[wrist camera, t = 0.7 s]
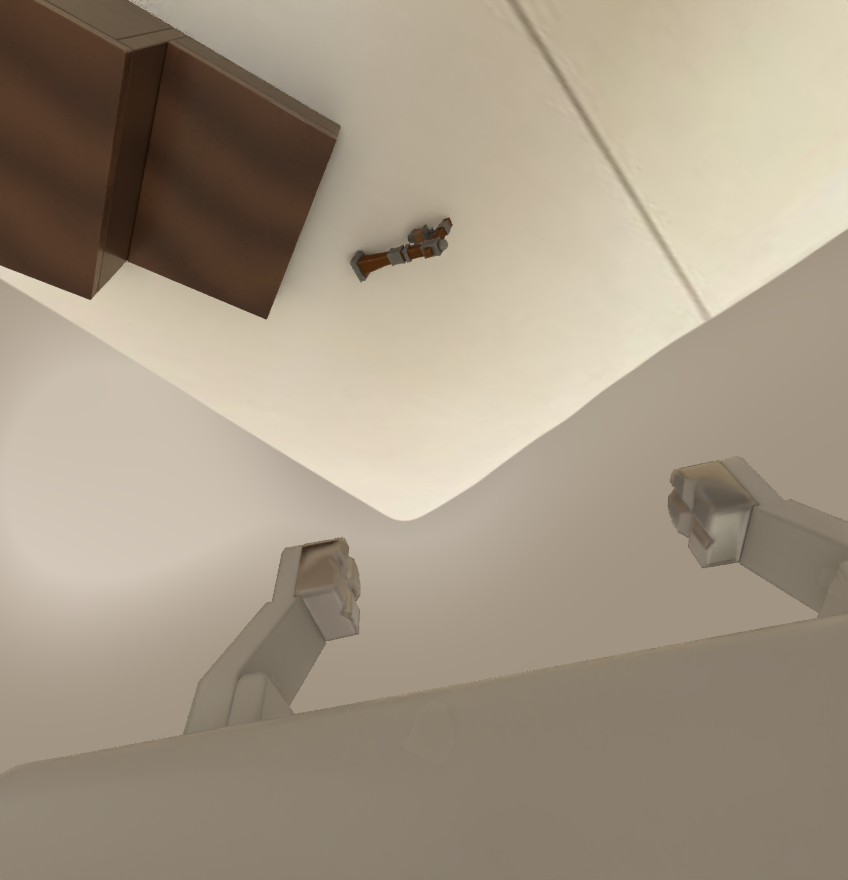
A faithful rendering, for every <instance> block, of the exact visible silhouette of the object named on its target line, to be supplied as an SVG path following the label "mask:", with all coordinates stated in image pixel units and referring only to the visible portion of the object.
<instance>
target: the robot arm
mask: <svg viewBox="0 0 848 880" xmlns="http://www.w3.org/2000/svg"><path fill="white" fill-rule="evenodd" d="M670 483H671V484H672V486H673V487H674V490H673V491H672V492H671V494H670V495H669V496H668V509H669V514H670V518H671V520H672V522H673V524H674V526H675V528H676V529H677V531H678V532H679V533H680V534H682V535H684V536H686V537H688V538H689V544H688V547H689V549H690V550H691V552H692V553H693V555H694V556H695V558H696V559H697V561H698V562H699V564H700V565H701V567H702V568H707V567H714V566H719V565H726V564H732V563H738V562H740V564H741V565H742V566H744V567H745V568H747V569H749V570H750V571H752V572H754V573H755V574H757V575H758V576H760V577H761V578H763V579H765V580H766V581H768V582H770V583H771V584H773V585H774V586H776V587H777V588H779V589H781V590H782V591H784V592H786V593H787V594H789V595H790V596H792V597H794V598H795V599H797V600H798V601H800V602H802V603H803V604H805V605H806V606H808V607H810V608H811V609H813V610H814V611H816V612H818V613H819V614H818V616H817V618H815V619H810V620H804V621H798V622H793V623H787V624H782V625H777V626H771V627H766V628H760V629H755V630H749V631H745V632H738V633H733V634H728V635H723V636H717V637H711V638H707V639H701V640H695V641H690V642H685V643H679V644H674V645H668V646H663V647H658V648H652V649H647V650H642V651H636V652H630V653H625V654H620V655H615V656H609V657H604V658H598V659H593V660H587V661H582V662H576V663H571V664H565V665H560V666H555V667H549V668H544V669H538V670H533V671H527V672H522V673H516V674H511V675H505V676H500V677H495V678H489V679H484V680H478V681H473V682H467V683H462V684H456V685H451V686H445V687H440V688H435V689H429V690H423V691H418V692H413V693H407V694H402V695H396V696H391V697H385V698H380V699H375V700H369V701H364V702H358V703H353V704H347V705H342V706H336V707H331V708H326V709H321V710H315V711H309V712H305V713H298V714H294V713H293V711H292V710H291V708H290V707H289V706H290V704H291V702H292V701H293V699H294V698H295V696H296V694H297V692H298V691H299V689H300V687H301V686H302V684H303V682H304V680H305V679H306V677H307V675H308V673H309V672H310V670H311V668H312V666H313V665H314V663H315V662H316V660H317V658H318V656H319V655H320V653H321V651H322V649H323V648H324V646H325V644H326V641H330V640H334V639H339V638H344V637H348V636H353V635H357V634H359V619H360V610H359V608H358V606H357V603H356V601H357V599H358V598H359V596H360V579H359V573H358V568H357V565H356V563H355V560H354V559H353V558H352V557H350V556H349V555H348V554H349V546H348V544H347V542H346V540H345V538H343V537H342V538H335V539H330V540H324V541H318V542H313V543H307V544H304V545H298V546H293V547H287V548H285V549H284V551H283V552H282V554H281V559H280V564H279V569H278V574H277V579H276V584H275V589H274V594H273V599H272V602H267V603H266V604H265V605H264V606H263V607H262V608H261V610H260V611H259V612H258V613H257V614H256V615H255V616H254V618H253V619H252V620H251V621H250V622H249V623H248V625H247V626H246V627H245V628H244V629H243V630H242V632H241V633H240V634H239V635H238V636H237V638H236V639H235V640H234V641H233V642H232V643H231V644H230V646H229V647H228V648H227V649H226V650H225V652H224V653H223V654H222V655H221V656H220V657H219V658H218V660H217V661H216V662H215V663H214V664H213V665H212V667H211V668H210V669H209V670H208V671H207V672H206V674H205V675H204V676H203V677H202V678H201V679H200V681H199V682H198V686H197V689H196V693H195V696H194V699H193V703H192V706H191V709H190V712H189V716H188V719H187V722H186V726H185V729H184V732H183V735H179V736H174V737H168V738H163V739H158V740H152V741H146V742H141V743H135V744H130V745H125V746H119V747H114V748H109V749H103V750H98V751H92V752H87V753H81V754H76V755H71V756H65V757H59V758H53V759H47V760H40V761H35V762H30V763H26V764H22V765H18V766H15V767H13V768H10V769H8V770H6V771H5V772H3V773H2V774H0V880H848V521H846V520H843V519H840V518H838V517H835V516H833V515H830V514H828V513H825V512H822V511H820V510H817V509H815V508H812V507H810V506H807V505H804V504H802V503H799V502H796V501H794V500H792V499H789V500H783V499H782V498H781V497H780V496H779V495H778V494H777V492H776V491H775V490H774V489H773V488H772V487H771V486H770V485H769V484H768V483H767V482H766V481H765V480H764V479H763V478H762V477H761V476H760V475H759V474H758V473H757V472H756V471H755V470H754V469H753V468H752V467H751V466H750V465H749V464H748V463H747V462H746V461H745V460H744V459H743V458H741V457H739V456H735V457H730V458H725V459H721V460H716V461H712V462H707V463H703V464H698V465H693V466H688V467H684V468H679V469H674V470H673V472H672V473H671V477H670Z"/></svg>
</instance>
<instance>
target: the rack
mask: <svg viewBox="0 0 848 880" xmlns="http://www.w3.org/2000/svg"><path fill="white" fill-rule="evenodd" d="M339 130H340V126H339V125H338V124H336V123H334V122H333V121H331V120H329V119H328V118H326V117H324V116H323V115H321V114H319V113H318V112H316V111H314V110H312V109H311V108H309V107H307V106H306V105H304V104H302V103H301V102H299V101H297V100H296V99H294V98H292V97H290V96H289V95H287V94H285V93H284V92H282V91H280V90H279V89H277V88H275V87H274V86H272V85H270V84H268V83H267V82H265V81H263V80H262V79H260V78H258V77H257V76H255V75H253V74H252V73H250V72H248V71H246V70H245V69H243V68H241V67H240V66H238V65H236V64H235V63H233V62H231V61H230V60H228V59H226V58H224V57H223V56H221V55H219V54H218V53H216V52H214V51H213V50H211V49H209V48H208V47H206V46H204V45H202V44H201V43H199V42H197V41H196V40H194V39H192V38H191V37H189V36H187V35H186V34H184V33H182V32H180V31H179V30H177V29H175V28H173V27H172V26H170V25H169V24H167V23H165V22H164V21H162V20H160V19H158V18H157V17H155V16H153V15H152V14H150V13H148V12H147V11H145V10H143V9H142V8H140V7H138V6H136V5H135V4H133V3H131V2H130V1H128V0H0V265H1V266H3V267H6V268H9V269H11V270H14V271H16V272H19V273H22V274H24V275H27V276H29V277H32V278H35V279H37V280H40V281H42V282H45V283H48V284H50V285H53V286H55V287H58V288H60V289H63V290H66V291H68V292H71V293H73V294H76V295H79V296H81V297H84V298H86V299H89V300H91V299H92V298H93V297H94V296H95V295H96V293H97V292H98V291H99V290H100V289H101V288H102V287H103V286H104V285H105V284H106V283H107V282H108V281H109V280H110V278H111V277H112V276H113V275H114V274H115V273H116V272H117V271H118V270H119V269H120V268H121V267H122V266H123V264H124V263H125V262H126V261H127V260H128V262H131V263H133V264H135V265H138V266H140V267H142V268H145V269H147V270H150V271H152V272H154V273H157V274H159V275H162V276H164V277H166V278H169V279H171V280H173V281H176V282H178V283H181V284H183V285H185V286H188V287H190V288H193V289H195V290H197V291H200V292H202V293H204V294H207V295H209V296H212V297H214V298H216V299H219V300H221V301H223V302H226V303H228V304H231V305H233V306H235V307H238V308H240V309H243V310H245V311H247V312H250V313H252V314H254V315H257V316H259V317H262V318H264V319H267V318H268V315H269V313H270V310H271V307H272V305H273V302H274V300H275V297H276V295H277V292H278V289H279V287H280V284H281V282H282V279H283V277H284V274H285V271H286V269H287V266H288V264H289V261H290V259H291V256H292V253H293V251H294V248H295V246H296V243H297V241H298V238H299V235H300V233H301V230H302V228H303V225H304V223H305V220H306V217H307V215H308V212H309V210H310V207H311V205H312V202H313V199H314V197H315V194H316V192H317V189H318V187H319V184H320V181H321V179H322V176H323V174H324V171H325V169H326V166H327V163H328V161H329V158H330V156H331V153H332V151H333V148H334V145H335V143H336V140H337V137H338V134H339Z"/></svg>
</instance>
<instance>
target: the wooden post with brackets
mask: <svg viewBox="0 0 848 880" xmlns="http://www.w3.org/2000/svg"><path fill="white" fill-rule="evenodd" d="M451 227H452V222H451V220H450V218H447V219H444V220H443V222H441V223H440V224H439V225H438V227H437V228H436V229H435V230H434V229H433V228H431V230H428V228H427V225H425V226H424V228H423V229H419V230H415V229H414V231H413V232H412V234H411V235H409V237H408V241H409V242H410V243H414V245H412V246H411V245H410V244H406V246H405V247H404V245H402V246H401V247H397V248H391V249H390V251H388V252H384V253H378V254H371V255H365V254H364V252H363V250H362V251H359V250H358V252H357V253H356V255H355V256H354V257H353V259H352V260H351V261H350V265H351V266H352V268H353V270H354V272H355V273H356V275H357V277H358V279H359V280H360V282H362V281H365V280H366V278H367V277H368V275H369V274H370V272H373V271H375V270H377V269H379V268H382V267H384V266H387V265H390V264H391V265H392V266H394V265H396V264H401V263H404V264H405V262H406V261H407V263H408V262H411V261H412V259H415V258H419V257H425V259H426V258H429V257H433V256H440V255H441V254H442V252H443V250H445V249H447V247H448V243H447V241H446V240H443V239H444V238H445V236H446V235H448V234H449V232H450V231H451V230H450V229H451ZM420 243H422V244H420Z"/></svg>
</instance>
